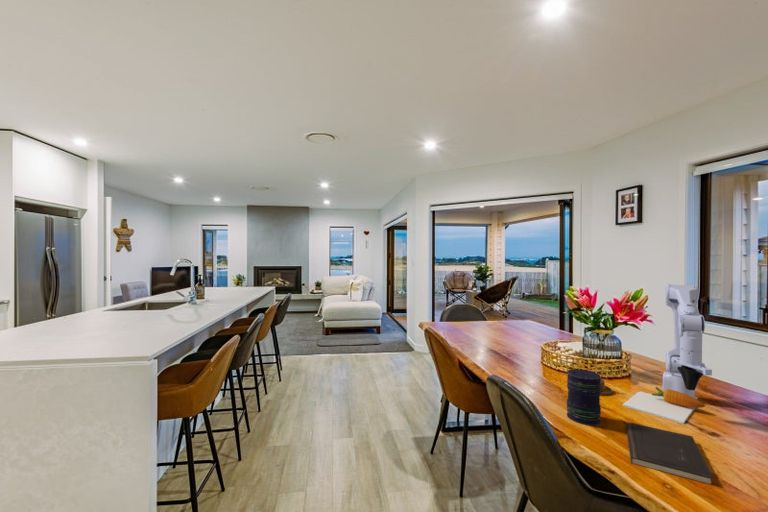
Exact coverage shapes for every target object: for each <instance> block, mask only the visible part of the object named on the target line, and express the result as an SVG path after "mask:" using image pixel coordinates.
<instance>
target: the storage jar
mask: <svg viewBox="0 0 768 512" xmlns="http://www.w3.org/2000/svg"><path fill="white" fill-rule="evenodd" d="M571 364H572V365H574V366H575V365H577V363H576V362H571ZM601 379H602V377H601V375H600V374H599V373H597V372H594V371H592V370H586V369H580V368H573V369H568V370H567V377H566V383H567V384H566V387H567V399H566V411H567V413H566V416H567V418H568V419H569V420H571V421H572V422H574V423H577V424H580V425H585V426H598V425H600V423H601V419H600V418H601V413H602V412H601V410H602V409H601V407H602V406H601V404H600V401H601V400H600V399H601V398H600V397H601V395H600V394H601V392H602V390H601V381H600V380H601Z"/></svg>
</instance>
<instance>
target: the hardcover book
mask: <svg viewBox="0 0 768 512" xmlns="http://www.w3.org/2000/svg"><path fill="white" fill-rule="evenodd" d="M625 427H626V435H627V444H628V449H629V456H630V464H634V465H638V466H641V467H646V468H648V469H649V468H650V469H653V470H657V471H660V472H664V473H668V474H671V475H674V476H679V477H683V478H686V479H689V480H690V479H691V480H694V481H698V482H701V483H704V484H705V483H706V484H708V485H712V480H714V476H713V474H712V472H711V471H710V469H709V467H708V465H707V462H706V461H705V458H704V456H703V455H702V453H701V451H700V449H699V446H698V445H697V443H696V440H695V439H694V437H693V436H692V435H689V434H683V433H678V432H674V431H669V430H665V429H660V428H655V427H652V426H647V425H644V424H638V423H634V422H626V424H625Z"/></svg>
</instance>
